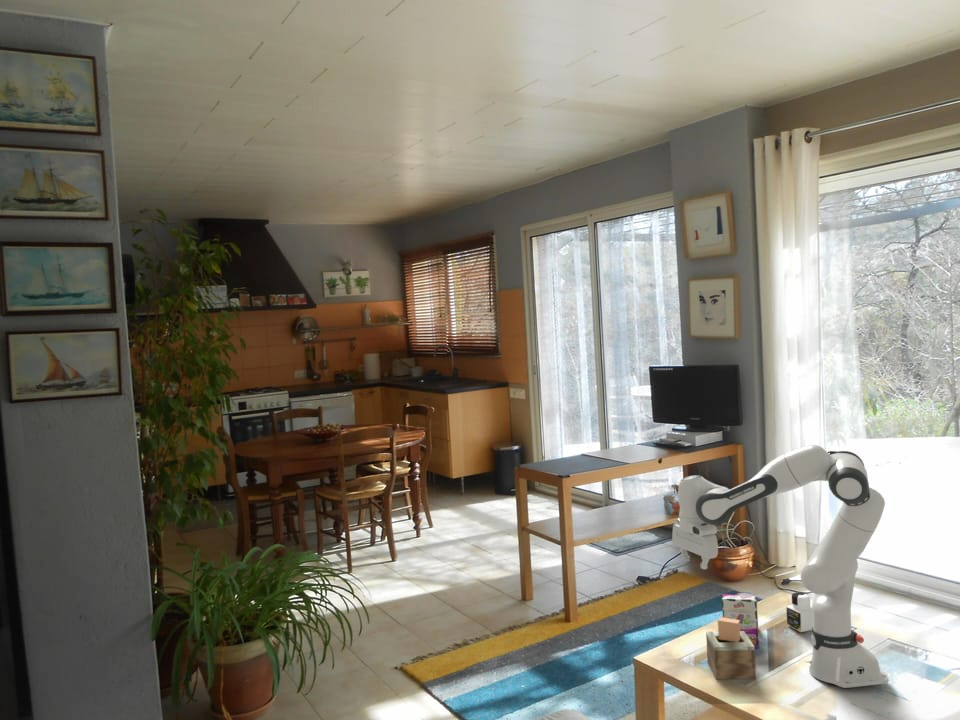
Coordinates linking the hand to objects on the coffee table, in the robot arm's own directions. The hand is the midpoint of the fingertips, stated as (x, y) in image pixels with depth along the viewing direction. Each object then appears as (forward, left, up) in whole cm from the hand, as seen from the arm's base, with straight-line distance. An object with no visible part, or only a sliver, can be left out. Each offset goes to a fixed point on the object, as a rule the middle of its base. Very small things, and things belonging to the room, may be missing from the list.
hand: (694, 564), depth 249 cm
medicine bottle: (-39, -18, -29) cm, 52 cm away
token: (-7, +15, -19) cm, 25 cm away
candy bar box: (-15, -4, -29) cm, 33 cm away
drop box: (-7, +15, -29) cm, 33 cm away
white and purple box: (-20, -15, -29) cm, 38 cm away
